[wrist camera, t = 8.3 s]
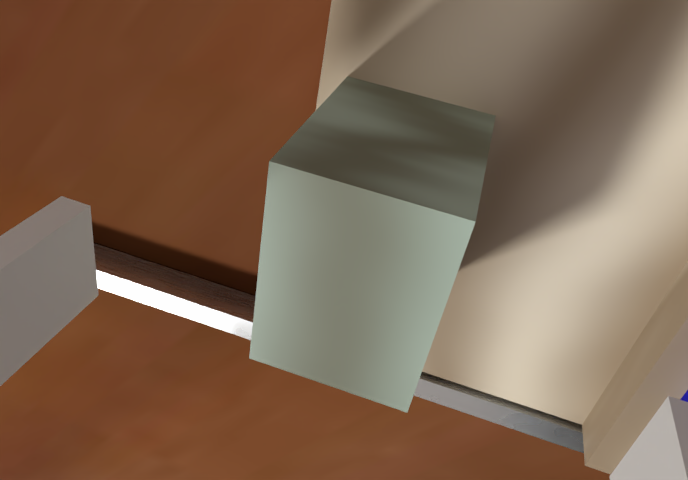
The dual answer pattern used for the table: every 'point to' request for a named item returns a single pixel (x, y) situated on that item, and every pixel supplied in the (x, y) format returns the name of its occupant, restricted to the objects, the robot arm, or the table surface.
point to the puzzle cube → (685, 397)
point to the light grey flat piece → (237, 318)
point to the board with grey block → (489, 210)
